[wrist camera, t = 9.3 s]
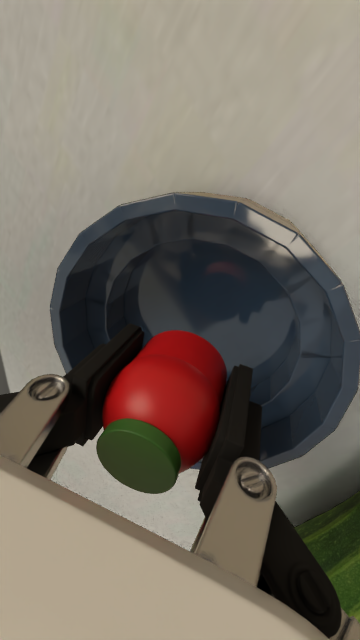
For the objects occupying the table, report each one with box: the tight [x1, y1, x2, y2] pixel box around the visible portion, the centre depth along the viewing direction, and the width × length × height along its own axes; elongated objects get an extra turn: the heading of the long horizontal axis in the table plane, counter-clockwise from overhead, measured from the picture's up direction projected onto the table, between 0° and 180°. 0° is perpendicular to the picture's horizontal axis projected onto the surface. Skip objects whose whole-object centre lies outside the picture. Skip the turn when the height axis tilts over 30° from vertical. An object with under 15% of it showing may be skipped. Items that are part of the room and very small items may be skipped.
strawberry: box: [96, 330, 227, 494], centre depth 10 cm, size 4×4×5 cm
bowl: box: [50, 192, 360, 470], centre depth 14 cm, size 14×14×5 cm
